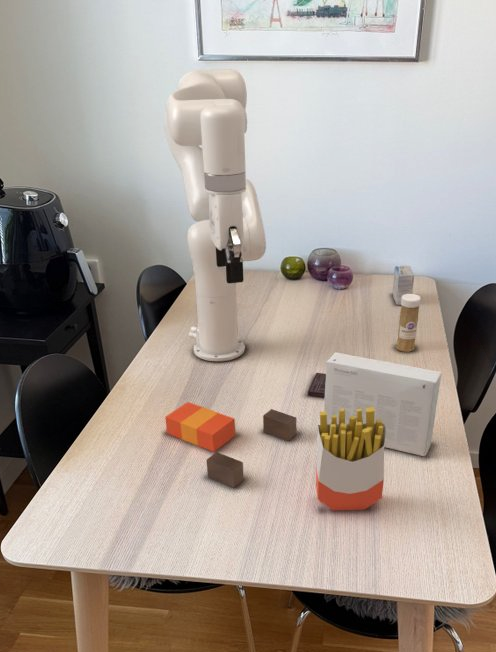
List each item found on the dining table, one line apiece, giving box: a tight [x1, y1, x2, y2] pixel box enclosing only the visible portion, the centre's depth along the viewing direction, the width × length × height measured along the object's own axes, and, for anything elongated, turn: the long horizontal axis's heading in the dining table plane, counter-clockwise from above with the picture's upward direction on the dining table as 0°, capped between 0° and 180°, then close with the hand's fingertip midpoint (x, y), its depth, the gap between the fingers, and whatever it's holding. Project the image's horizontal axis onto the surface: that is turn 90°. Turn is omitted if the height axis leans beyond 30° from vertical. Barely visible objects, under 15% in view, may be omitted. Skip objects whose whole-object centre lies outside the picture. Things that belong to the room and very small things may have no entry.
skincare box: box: [323, 351, 442, 457], centre depth 128 cm, size 21×5×16 cm, turn 65°
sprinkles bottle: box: [396, 293, 422, 353], centre depth 161 cm, size 5×5×13 cm
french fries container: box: [315, 407, 386, 511], centre depth 111 cm, size 5×11×18 cm, turn 91°
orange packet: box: [164, 401, 236, 453], centre depth 133 cm, size 12×7×4 cm, turn 56°
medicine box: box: [392, 265, 415, 306], centre depth 188 cm, size 8×4×9 cm, turn 179°
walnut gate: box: [206, 408, 298, 489], centre depth 127 cm, size 6×21×4 cm, turn 146°
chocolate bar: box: [307, 372, 326, 399], centre depth 148 cm, size 9×1×18 cm
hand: (229, 273), depth 131 cm, fingers open, 9 cm apart
